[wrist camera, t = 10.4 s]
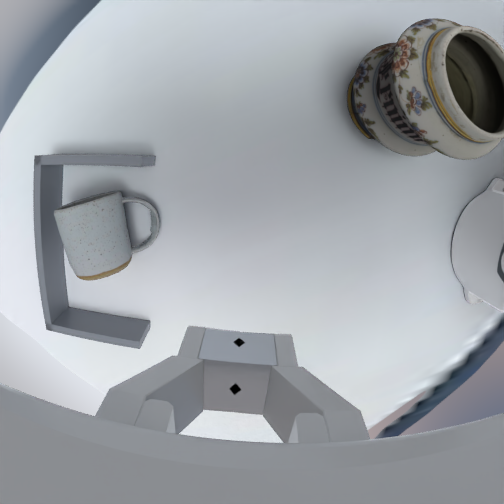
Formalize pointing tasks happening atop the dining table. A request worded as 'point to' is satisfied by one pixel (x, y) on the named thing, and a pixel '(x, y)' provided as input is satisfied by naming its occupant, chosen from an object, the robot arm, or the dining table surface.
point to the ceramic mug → (100, 234)
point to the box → (52, 255)
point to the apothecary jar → (432, 91)
